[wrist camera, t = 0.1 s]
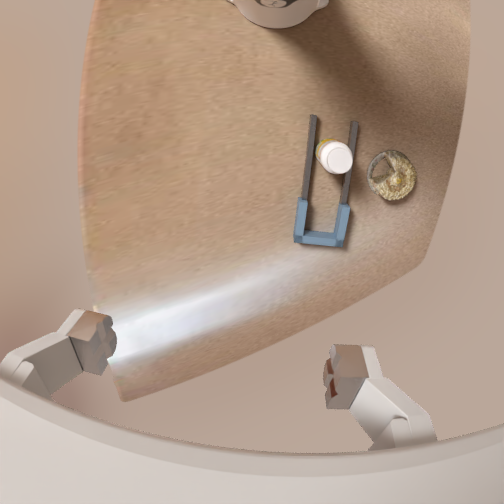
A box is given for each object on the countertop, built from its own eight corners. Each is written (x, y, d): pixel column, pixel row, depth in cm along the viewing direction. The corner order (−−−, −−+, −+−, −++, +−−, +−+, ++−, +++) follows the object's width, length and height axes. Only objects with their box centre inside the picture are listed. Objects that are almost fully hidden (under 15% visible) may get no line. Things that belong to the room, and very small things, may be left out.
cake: (417, 160, 52) (431, 167, 47) (399, 204, 56) (411, 215, 52) (377, 141, 50) (389, 146, 46) (359, 189, 55) (368, 198, 50)
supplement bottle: (347, 162, 53) (361, 172, 44) (320, 170, 54) (329, 182, 45) (338, 134, 51) (351, 139, 42) (311, 142, 52) (318, 149, 43)
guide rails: (310, 114, 49) (311, 114, 48) (356, 121, 49) (358, 122, 48) (300, 197, 56) (301, 199, 55) (344, 202, 56) (345, 205, 55)
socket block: (298, 197, 56) (299, 201, 54) (346, 203, 56) (350, 207, 54) (293, 235, 60) (294, 242, 57) (339, 240, 60) (342, 247, 57)
